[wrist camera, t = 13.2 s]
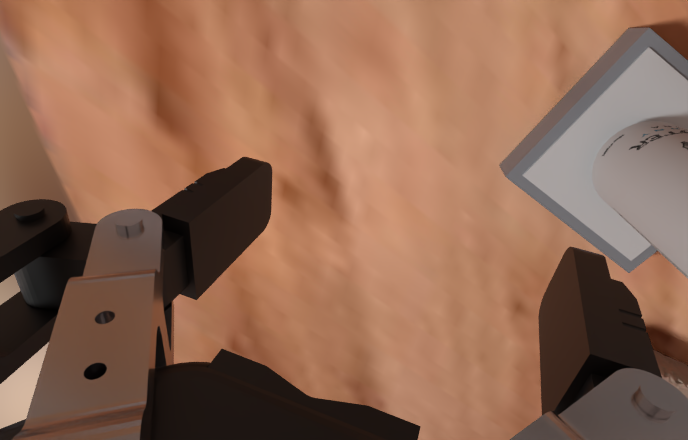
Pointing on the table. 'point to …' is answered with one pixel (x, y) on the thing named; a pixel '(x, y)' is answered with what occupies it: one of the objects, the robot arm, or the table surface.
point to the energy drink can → (649, 184)
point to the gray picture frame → (601, 138)
